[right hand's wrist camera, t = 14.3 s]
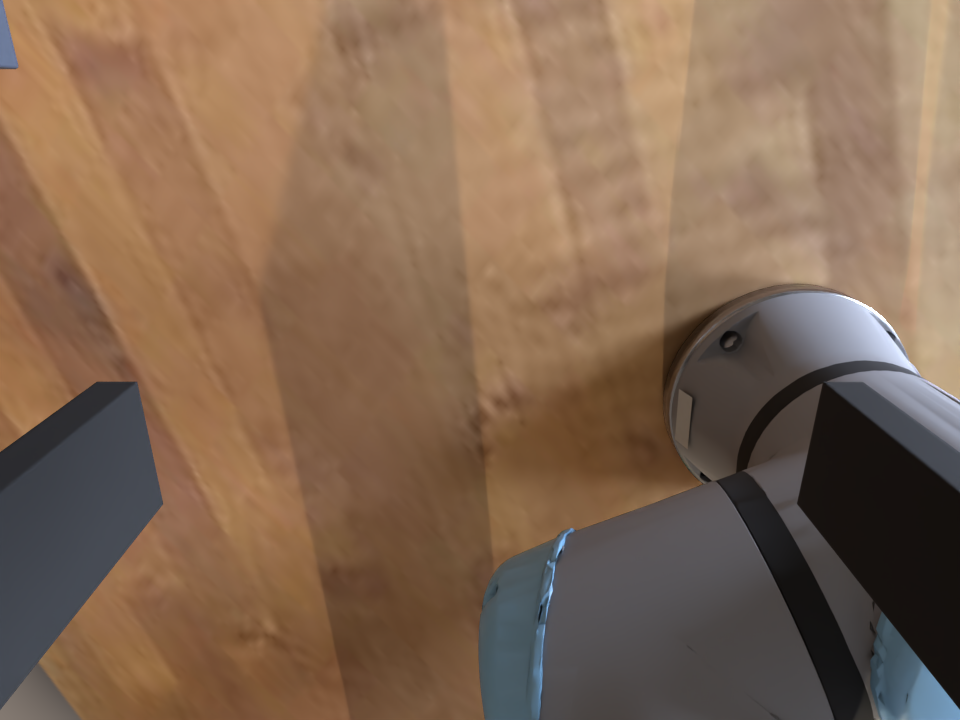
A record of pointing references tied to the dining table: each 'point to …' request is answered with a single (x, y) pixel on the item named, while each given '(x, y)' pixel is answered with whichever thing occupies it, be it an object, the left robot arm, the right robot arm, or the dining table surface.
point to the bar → (6, 43)
